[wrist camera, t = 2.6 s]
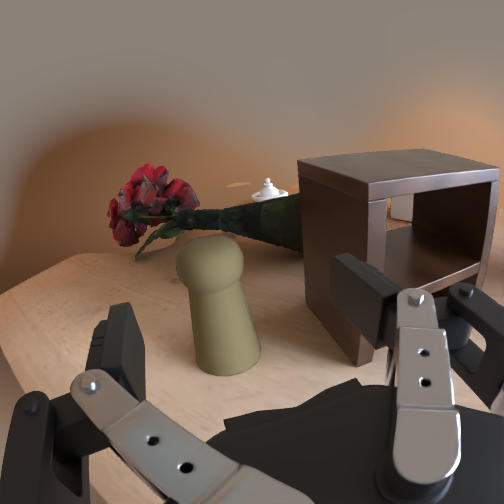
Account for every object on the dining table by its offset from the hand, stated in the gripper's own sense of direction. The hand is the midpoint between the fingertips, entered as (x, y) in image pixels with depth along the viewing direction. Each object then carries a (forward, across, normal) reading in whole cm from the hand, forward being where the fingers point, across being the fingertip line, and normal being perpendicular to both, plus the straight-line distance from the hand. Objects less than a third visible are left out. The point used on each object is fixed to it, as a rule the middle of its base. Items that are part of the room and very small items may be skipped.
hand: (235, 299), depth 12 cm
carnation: (+38, -3, +13) cm, 40 cm away
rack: (+11, -18, +13) cm, 24 cm away
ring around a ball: (+54, -18, +13) cm, 58 cm away
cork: (+12, 0, +13) cm, 18 cm away
